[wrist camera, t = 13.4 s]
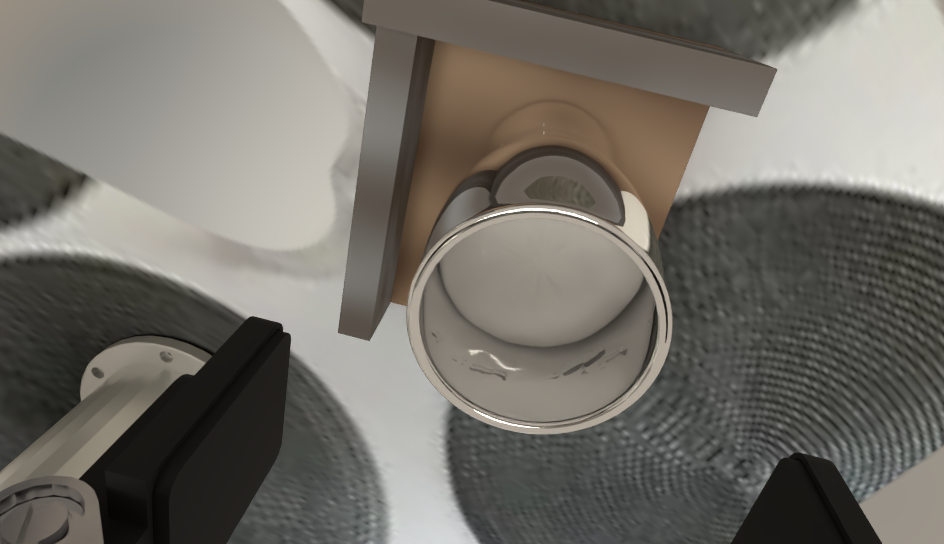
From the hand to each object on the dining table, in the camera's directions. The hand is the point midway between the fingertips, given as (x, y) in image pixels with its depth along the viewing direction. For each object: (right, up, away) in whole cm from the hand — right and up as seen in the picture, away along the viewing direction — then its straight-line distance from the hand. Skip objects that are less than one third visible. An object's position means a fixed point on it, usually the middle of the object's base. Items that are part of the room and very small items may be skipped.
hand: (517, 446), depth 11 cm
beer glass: (+3, +8, +17) cm, 19 cm away
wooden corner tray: (+2, +8, +19) cm, 21 cm away
